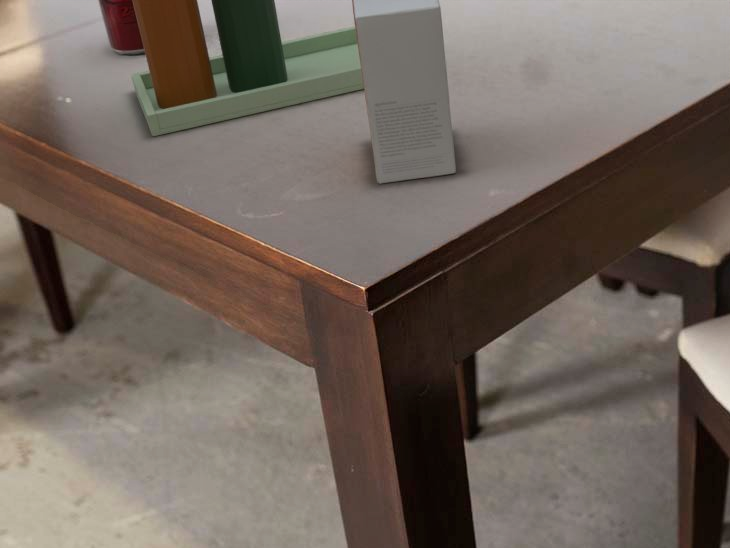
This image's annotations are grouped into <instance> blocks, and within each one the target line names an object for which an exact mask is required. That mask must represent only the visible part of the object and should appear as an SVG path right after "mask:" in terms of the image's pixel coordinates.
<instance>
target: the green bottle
mask: <svg viewBox="0 0 730 548" xmlns="http://www.w3.org/2000/svg"><path fill="white" fill-rule="evenodd" d="M211 5H212V10H213V15H214V19H215V26H216V31H217V35H218V41H219V45H220V49H221V55H223V60H224V65H225V70H226V75H227V80H228V84H229V88H230V90H231V91H232V92H234V93H239V92H243V91H248V90H252V89H257V88H261V87H266V86H270V85H275V84H279V83H284V82H287V80H288V77H287V71H286V65H285V60H284V54H283V48H282V42H283V41H282V37H281V31H280V25H279V19H278V13H277V8H276V3H275V0H211Z"/></svg>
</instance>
